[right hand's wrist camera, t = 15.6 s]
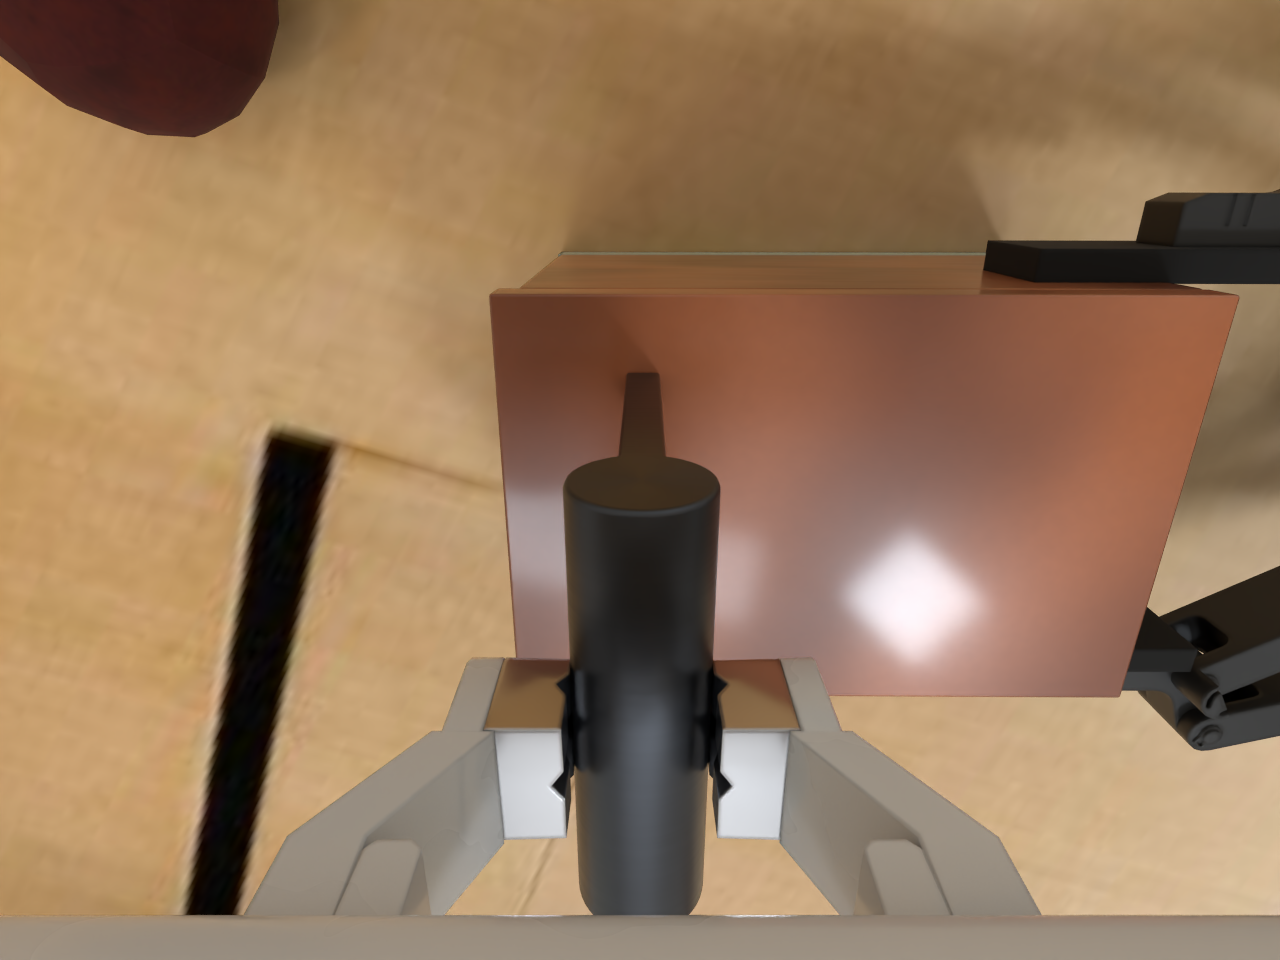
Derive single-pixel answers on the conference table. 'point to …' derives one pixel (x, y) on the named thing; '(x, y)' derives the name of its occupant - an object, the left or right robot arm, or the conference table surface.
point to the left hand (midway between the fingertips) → (972, 465)
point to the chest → (791, 272)
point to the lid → (826, 511)
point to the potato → (144, 57)
